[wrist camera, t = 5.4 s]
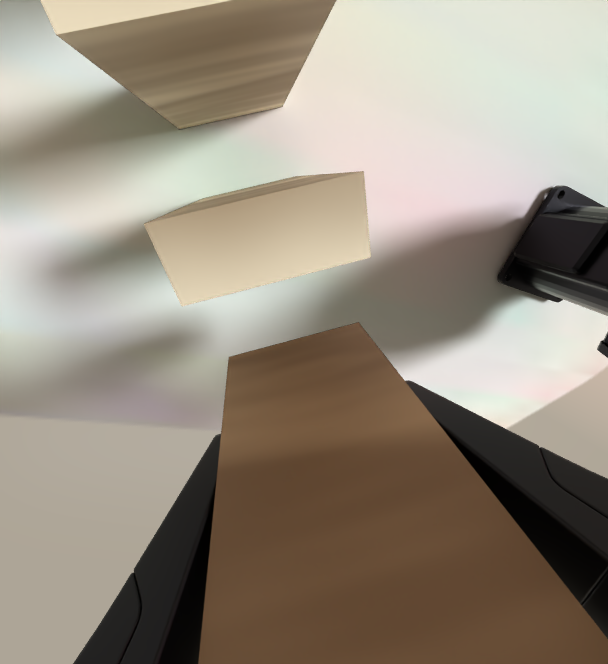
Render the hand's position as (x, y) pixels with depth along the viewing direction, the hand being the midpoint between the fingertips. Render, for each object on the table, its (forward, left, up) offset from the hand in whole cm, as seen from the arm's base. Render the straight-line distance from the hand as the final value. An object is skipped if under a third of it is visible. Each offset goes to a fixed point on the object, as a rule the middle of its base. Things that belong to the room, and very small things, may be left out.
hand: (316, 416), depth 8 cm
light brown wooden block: (+3, -4, -11) cm, 12 cm away
